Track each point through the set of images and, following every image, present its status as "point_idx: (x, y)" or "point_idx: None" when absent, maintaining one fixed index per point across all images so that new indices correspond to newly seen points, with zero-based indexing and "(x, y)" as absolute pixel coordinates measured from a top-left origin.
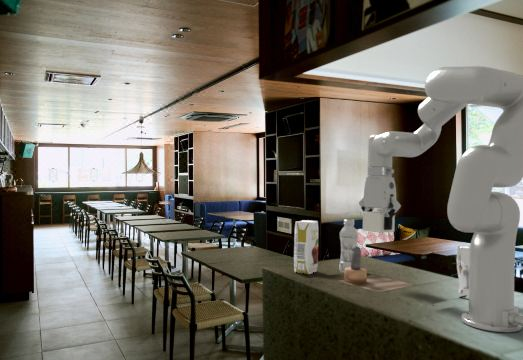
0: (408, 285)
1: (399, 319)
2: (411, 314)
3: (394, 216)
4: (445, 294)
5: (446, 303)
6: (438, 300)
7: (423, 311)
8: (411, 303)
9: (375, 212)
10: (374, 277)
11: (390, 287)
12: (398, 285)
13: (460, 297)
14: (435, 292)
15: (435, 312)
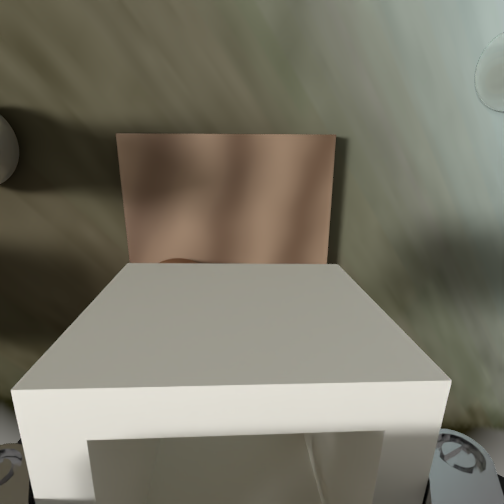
0: (325, 171)
1: (452, 423)
2: (454, 377)
3: (414, 348)
4: (433, 100)
5: (479, 213)
6: (449, 202)
7: (464, 335)
8: (410, 301)
9: (98, 479)
10: (157, 170)
11: (304, 256)
12: (303, 206)
13: (494, 109)
14: (397, 105)
15: (489, 318)
